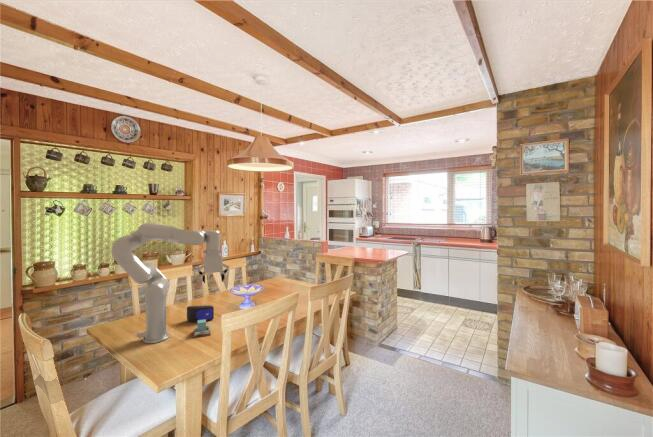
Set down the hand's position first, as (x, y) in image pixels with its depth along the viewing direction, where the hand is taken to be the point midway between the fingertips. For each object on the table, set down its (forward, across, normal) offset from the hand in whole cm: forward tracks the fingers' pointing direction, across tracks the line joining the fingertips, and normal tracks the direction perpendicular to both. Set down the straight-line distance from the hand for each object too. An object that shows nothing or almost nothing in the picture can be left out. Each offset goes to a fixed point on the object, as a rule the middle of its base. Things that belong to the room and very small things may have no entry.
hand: (213, 281), depth 166 cm
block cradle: (+30, -6, +2) cm, 30 cm away
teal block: (+29, -6, +2) cm, 29 cm away
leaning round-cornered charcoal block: (+30, -7, +23) cm, 38 cm away
